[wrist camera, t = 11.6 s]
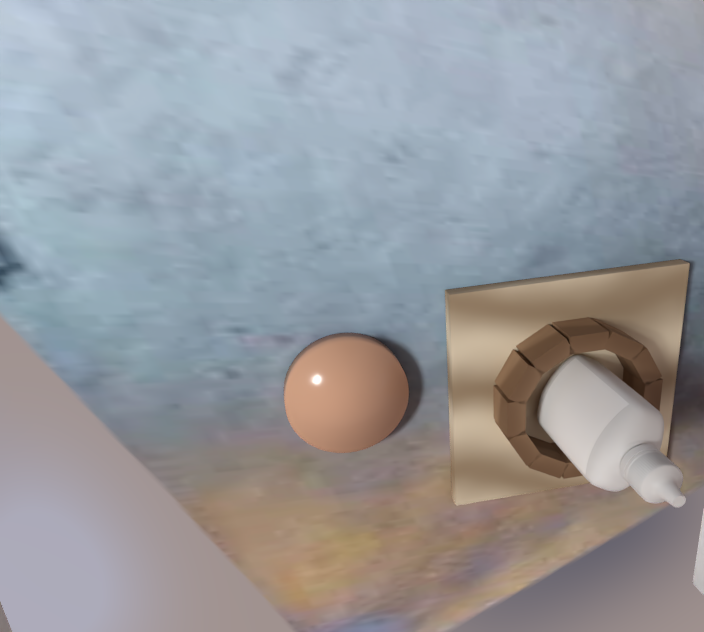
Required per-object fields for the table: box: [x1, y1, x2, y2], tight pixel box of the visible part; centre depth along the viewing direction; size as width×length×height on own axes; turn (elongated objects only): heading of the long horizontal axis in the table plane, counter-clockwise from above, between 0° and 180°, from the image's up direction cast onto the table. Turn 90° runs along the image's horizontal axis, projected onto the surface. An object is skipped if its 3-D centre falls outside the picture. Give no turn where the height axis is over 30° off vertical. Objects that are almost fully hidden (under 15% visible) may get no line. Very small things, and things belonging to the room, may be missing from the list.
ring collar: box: [445, 259, 690, 506], centre depth 40 cm, size 16×16×4 cm
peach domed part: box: [284, 333, 409, 453], centre depth 39 cm, size 8×8×2 cm
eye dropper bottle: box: [537, 355, 686, 507], centre depth 36 cm, size 4×6×12 cm
